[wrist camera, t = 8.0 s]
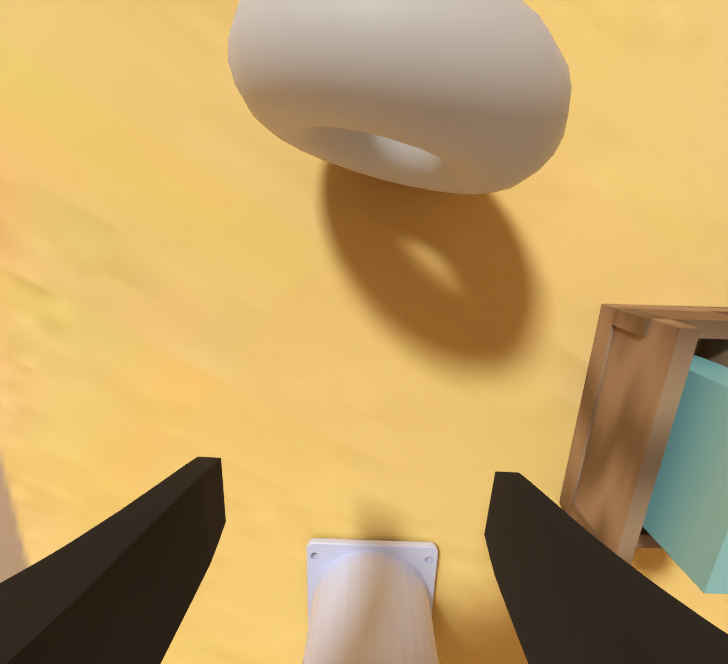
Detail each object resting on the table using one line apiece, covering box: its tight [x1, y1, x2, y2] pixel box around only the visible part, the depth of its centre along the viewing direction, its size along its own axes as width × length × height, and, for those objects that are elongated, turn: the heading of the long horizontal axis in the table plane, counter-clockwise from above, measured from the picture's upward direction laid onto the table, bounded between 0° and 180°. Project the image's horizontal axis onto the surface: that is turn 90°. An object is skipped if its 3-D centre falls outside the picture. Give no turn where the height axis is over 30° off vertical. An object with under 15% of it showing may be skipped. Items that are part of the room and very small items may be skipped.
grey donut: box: [228, 0, 571, 194], centre depth 11 cm, size 10×3×10 cm, turn 76°
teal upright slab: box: [643, 355, 728, 594], centre depth 16 cm, size 8×2×6 cm, turn 178°
